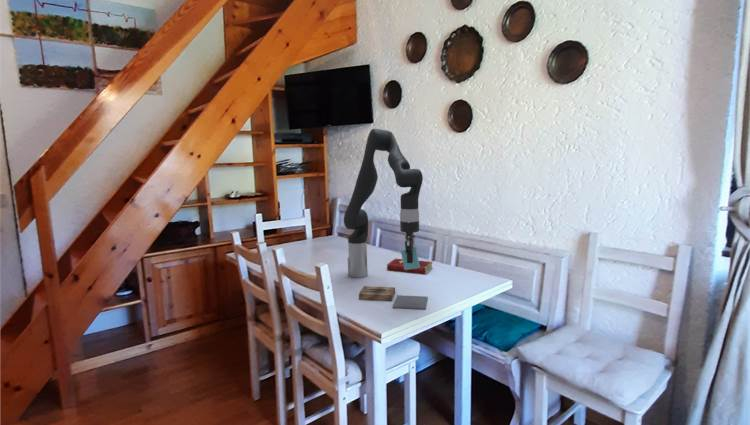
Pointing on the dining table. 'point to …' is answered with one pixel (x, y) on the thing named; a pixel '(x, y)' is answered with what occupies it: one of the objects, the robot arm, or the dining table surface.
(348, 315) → the dining table surface
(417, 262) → the teal rectangular prism
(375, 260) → the dining table surface
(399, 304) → the mat
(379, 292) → the brown wooden frame
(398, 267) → the hardcover book
